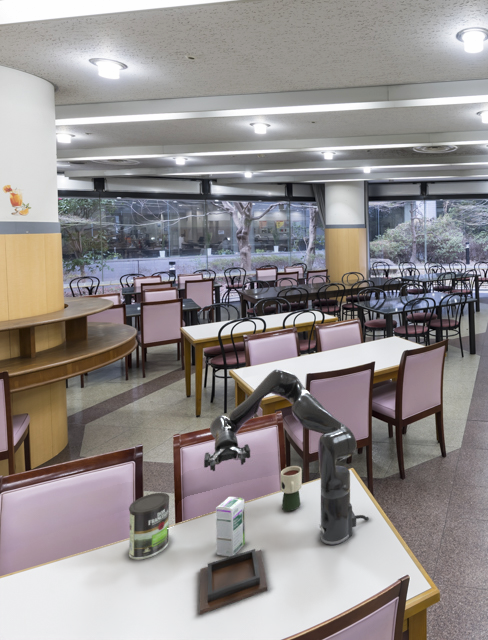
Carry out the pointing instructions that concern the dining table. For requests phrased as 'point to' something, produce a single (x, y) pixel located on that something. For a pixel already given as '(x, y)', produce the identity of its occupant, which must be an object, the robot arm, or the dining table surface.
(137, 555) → the coffee can
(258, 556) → the base pad
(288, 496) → the character mug
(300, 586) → the dining table surface
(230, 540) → the syrup box
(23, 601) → the dining table surface
